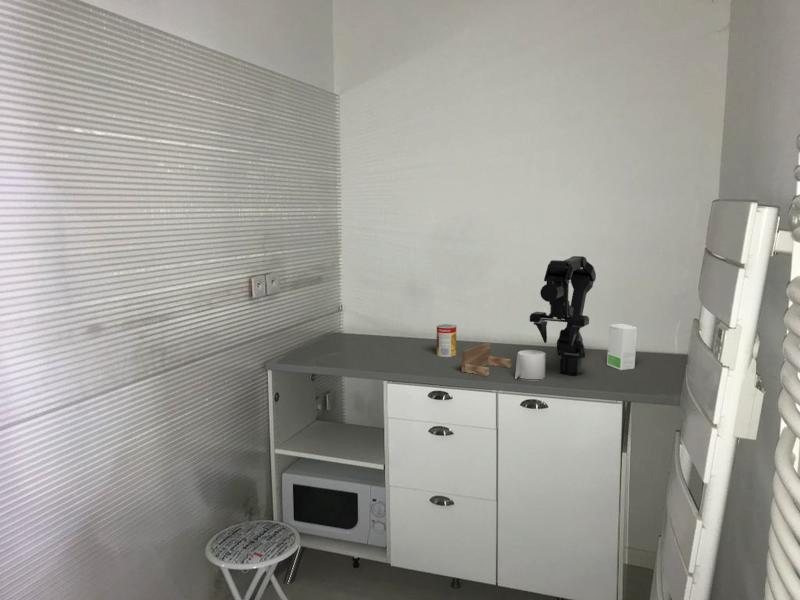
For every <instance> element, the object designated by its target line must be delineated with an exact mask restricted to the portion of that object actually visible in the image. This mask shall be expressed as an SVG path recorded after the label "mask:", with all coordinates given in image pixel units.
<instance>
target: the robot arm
mask: <svg viewBox="0 0 800 600" xmlns="http://www.w3.org/2000/svg"><path fill="white" fill-rule="evenodd" d="M544 275H545V276H544V278H543V281H544V282H546V284H544V285H543V286H542V287H541V288H540V292H539V294H540V297H541V298H542V300H544V301H545V302H548V303H549V307H550V309H549V310H550V311H549V313H548V314H547V312H545V311H535V312H532V313H530V315H529V322H530V323H533V325H534V326H536V327H537V330H538V332H539V333H540V336H541V338H542V341H543V343H544V344H546V343H547V342H548V333H547V326H548V322H549V321H550V322H559V323H566V327H565V328H564V329H561V330H560V331H559V336H558V339H557V341H556V353H557V356H559V357H560V359H559V371H558V374H561V375H562V374H563V375H568V376H569V375H570V376H575V377H576V376H578V375H580V374H582V373H584V371H583V370H582V359H583V358H584V359H585V358H586V348H585V345H584V342H583V337H582V334H581V332H580V330H581V328H582V329H583V328H584V327H586V326H588V325H589V324H590V318H589V316H588V315H583V314H584V308H585V304H586V299H587V298H586V297H587V293H589V292H590V291H591V289H592V288H593V286H594V282H596V279H597V277H596V276H597V274H596V271H595V267H594V266H593V265H592V264H591V263H590V262H588V260H587V257H586V256H578V255H574V256H570V258H566V259H564V260H561V259H560V260H555V259H552V260H550V261H549V263H548V265H547V267H546V271H545V274H544ZM570 284H571V287H572V289H573V290H572V294H571V301H570V300H569V291H570V289H569V288H570V287H569V285H570Z"/></svg>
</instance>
